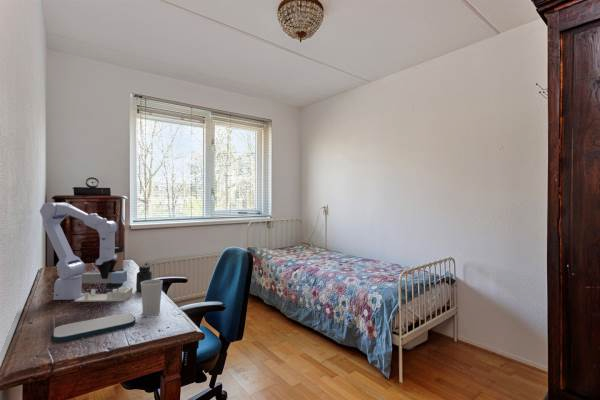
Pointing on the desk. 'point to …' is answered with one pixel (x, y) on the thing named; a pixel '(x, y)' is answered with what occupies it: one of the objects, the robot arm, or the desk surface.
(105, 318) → the white teal rounded slab
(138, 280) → the supplement bottle
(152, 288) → the cup
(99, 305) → the desk surface
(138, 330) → the desk surface
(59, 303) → the desk surface
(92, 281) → the blue-capped grey bar
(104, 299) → the slider rail
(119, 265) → the travel mug
